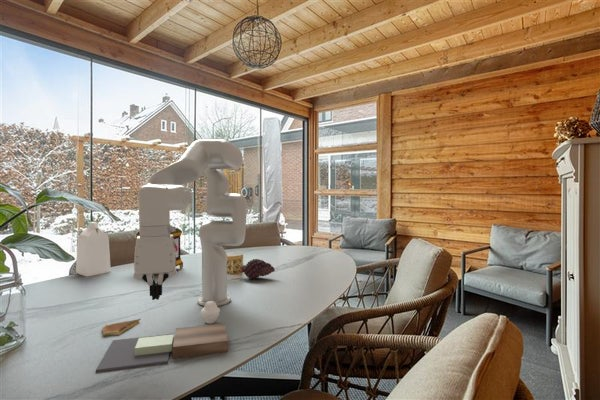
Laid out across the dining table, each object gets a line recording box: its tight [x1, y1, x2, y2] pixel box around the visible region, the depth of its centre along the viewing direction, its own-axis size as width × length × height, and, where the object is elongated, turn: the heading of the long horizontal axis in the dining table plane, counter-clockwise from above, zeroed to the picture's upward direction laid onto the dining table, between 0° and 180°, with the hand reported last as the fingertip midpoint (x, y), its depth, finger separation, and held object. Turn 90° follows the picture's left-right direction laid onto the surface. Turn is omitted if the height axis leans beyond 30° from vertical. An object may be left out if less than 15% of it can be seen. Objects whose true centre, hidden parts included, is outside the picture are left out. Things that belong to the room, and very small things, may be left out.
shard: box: [102, 318, 141, 337], centre depth 102 cm, size 11×8×2 cm
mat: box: [95, 333, 174, 373], centre depth 88 cm, size 16×16×1 cm
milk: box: [75, 221, 112, 277], centre depth 170 cm, size 12×12×26 cm
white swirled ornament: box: [200, 301, 221, 325], centre depth 109 cm, size 6×6×7 cm
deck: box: [172, 323, 229, 359], centre depth 93 cm, size 12×14×3 cm
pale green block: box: [135, 333, 175, 356], centre depth 89 cm, size 9×6×2 cm, turn 107°
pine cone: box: [239, 258, 275, 280], centre depth 162 cm, size 18×10×10 cm, turn 88°
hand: (156, 297), depth 90 cm, fingers closed
